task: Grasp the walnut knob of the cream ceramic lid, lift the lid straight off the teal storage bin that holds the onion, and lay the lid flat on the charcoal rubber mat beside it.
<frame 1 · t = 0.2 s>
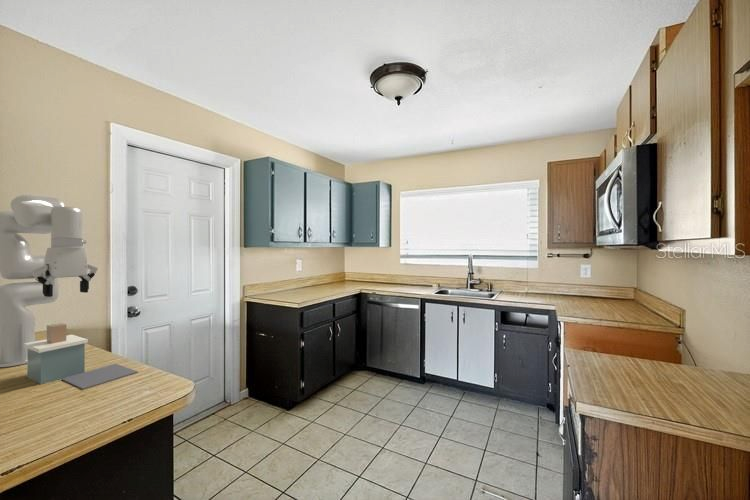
hand: (66, 294, 107), 31 cm above the counter, tool pointing down, fingers open, 9 cm apart
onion: (56, 375, 115), resting in teal storage bin
lid: (56, 344, 115), point 11 cm above the counter, touching teal storage bin
teal storage bin: (56, 374, 115), on the counter
mat: (100, 375, 114), on the counter
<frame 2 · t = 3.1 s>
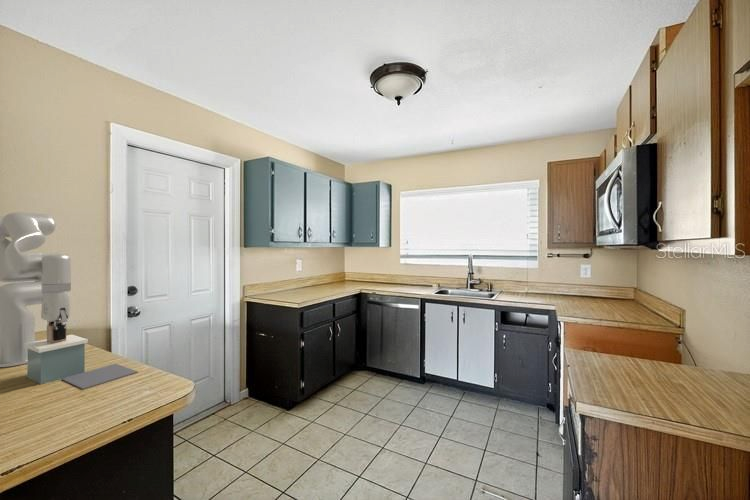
hand: (56, 338, 115), 13 cm above the counter, tool pointing down, fingers closed on lid, 4 cm apart
lid: (56, 344, 115), point 11 cm above the counter, touching teal storage bin, gripper
everything else where it was.
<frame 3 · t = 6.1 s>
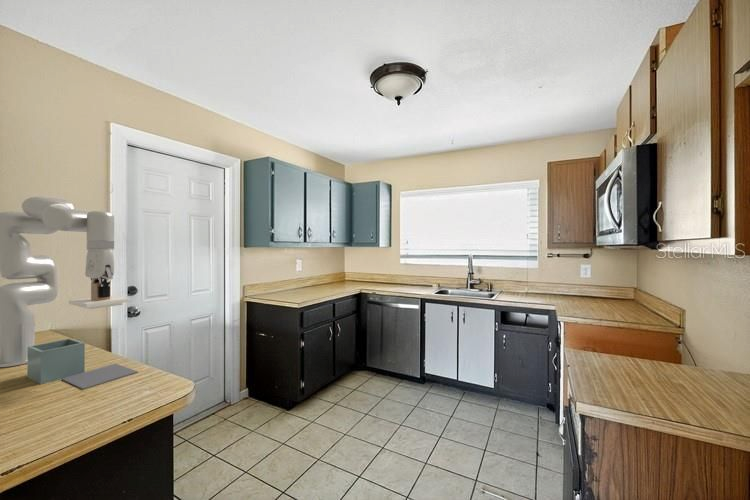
hand: (100, 296, 114), 29 cm above the counter, tool pointing down, fingers closed on lid, 4 cm apart
lid: (100, 302, 114), point 27 cm above the counter, touching gripper
everything else where it was.
when the fingers open (5 cm above the counter, at t = 9.3 s): lid stays where it is, resting on mat.
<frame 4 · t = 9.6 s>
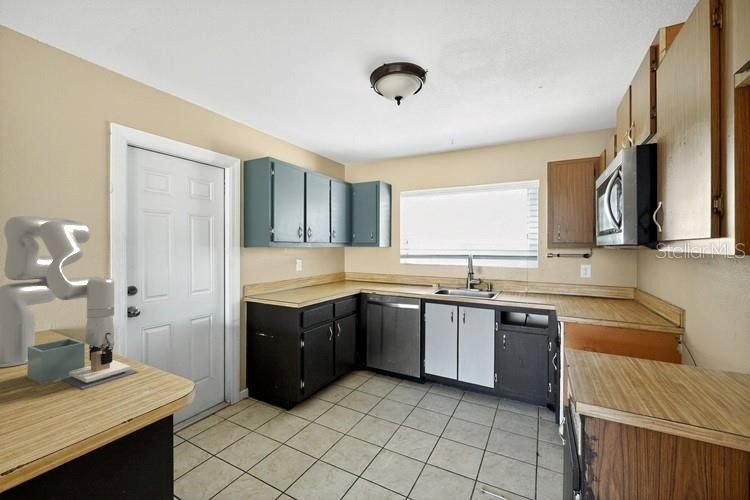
hand: (100, 361, 114), 5 cm above the counter, tool pointing down, fingers open, 7 cm apart
lid: (100, 372, 114), point 1 cm above the counter, touching mat
everything else where it was.
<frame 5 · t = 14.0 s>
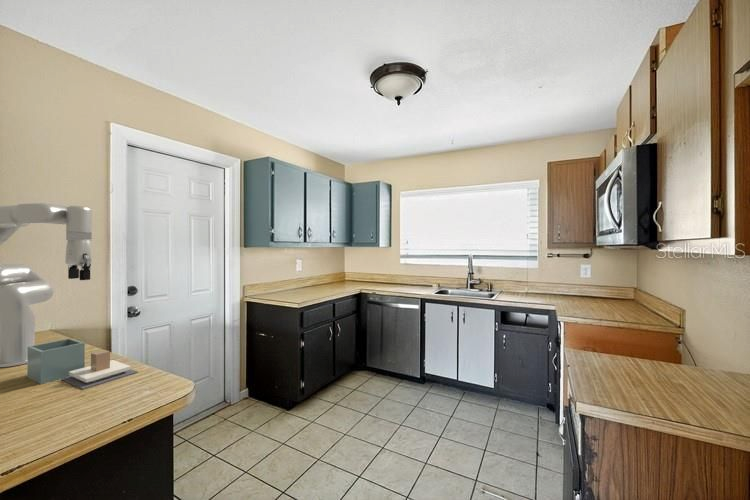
hand: (79, 279, 128), 33 cm above the counter, tool pointing down, fingers open, 9 cm apart
nothing on the counter moved.
at the end: lid inside the target area on the mat (0.1 cm from its centre), point 1.4 cm above the mat's base; lid tilted 0°; the gripper is holding nothing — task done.
